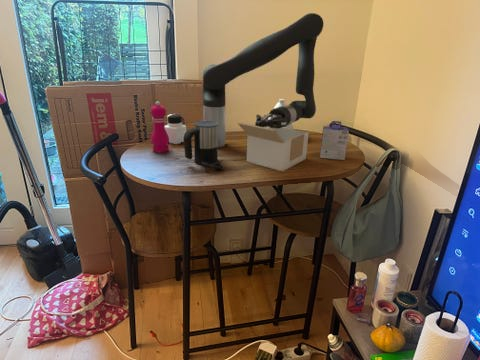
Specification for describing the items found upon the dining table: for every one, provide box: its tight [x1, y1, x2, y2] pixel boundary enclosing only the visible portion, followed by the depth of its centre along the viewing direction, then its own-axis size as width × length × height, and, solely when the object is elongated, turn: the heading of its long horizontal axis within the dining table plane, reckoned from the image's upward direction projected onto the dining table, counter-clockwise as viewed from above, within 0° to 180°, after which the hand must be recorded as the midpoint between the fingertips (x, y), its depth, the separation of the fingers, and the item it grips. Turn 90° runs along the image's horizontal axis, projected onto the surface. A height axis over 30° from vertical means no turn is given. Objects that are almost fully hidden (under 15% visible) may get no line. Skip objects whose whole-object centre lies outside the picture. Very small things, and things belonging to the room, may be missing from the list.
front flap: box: [237, 121, 284, 143], centre depth 123 cm, size 9×15×1 cm
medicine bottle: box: [164, 113, 187, 145], centre depth 155 cm, size 7×7×12 cm
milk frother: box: [183, 120, 224, 171], centre depth 128 cm, size 14×16×15 cm
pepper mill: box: [150, 101, 169, 153], centre depth 142 cm, size 7×7×20 cm
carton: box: [246, 127, 310, 173], centre depth 135 cm, size 18×17×11 cm
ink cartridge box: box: [319, 120, 350, 161], centre depth 140 cm, size 10×6×14 cm, turn 78°
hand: (257, 125), depth 119 cm, fingers closed
